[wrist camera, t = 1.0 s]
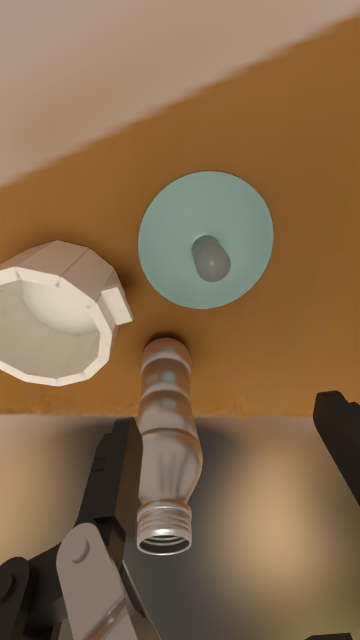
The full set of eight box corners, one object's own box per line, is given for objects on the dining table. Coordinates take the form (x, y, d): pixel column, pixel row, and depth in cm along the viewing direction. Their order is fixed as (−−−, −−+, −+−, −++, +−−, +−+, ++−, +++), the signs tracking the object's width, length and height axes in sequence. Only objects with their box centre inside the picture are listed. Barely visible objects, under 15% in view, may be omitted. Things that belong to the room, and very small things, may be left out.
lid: (264, 150, 22) (293, 143, 17) (274, 288, 29) (296, 313, 24) (117, 196, 23) (103, 204, 18) (161, 317, 30) (160, 346, 25)
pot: (111, 222, 24) (89, 243, 17) (151, 321, 30) (146, 365, 23) (-24, 264, 26) (-92, 298, 19) (40, 350, 32) (5, 399, 25)
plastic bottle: (150, 373, 35) (133, 567, 18) (135, 335, 31) (96, 532, 14) (194, 364, 34) (220, 555, 17) (184, 325, 31) (204, 516, 14)
